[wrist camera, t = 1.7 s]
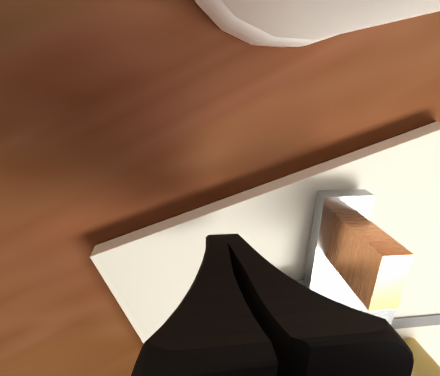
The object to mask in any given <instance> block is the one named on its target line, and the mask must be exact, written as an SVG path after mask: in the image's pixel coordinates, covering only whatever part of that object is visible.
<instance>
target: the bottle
mask: <svg viewBox="0 0 440 376" xmlns="http://www.w3.org/2000/svg"><path fill="white" fill-rule="evenodd" d="M195 2H196V4H197V5H198V6H199V7H200V8H201V9H202V10H203V11H204V12H205V13H206V14H207V15H208V16H209V17H210V19H211V20H212V21H213V22H214V23H215V24H216V25H217V26H218V27H219V28H220V29H221V30H222V31H224V32H226V33H228V34H230V35H232V36H234V37H236V38H238V39H240V40H242V41H244V42H246V43H248V44H250V45H257V46H272V47H286V46H289V47H301V46H306V45H309V44H312V43H315V42H318V41H321V40H324V39H327V38H330V37H333V36H336V35H339V34H343V33H347V32H351V31H355V30H360V29H364V28H368V27H373V26H377V25H381V24H386V23H390V22H394V21H399V20H403V19H407V18H412V17H416V16H420V15H425V14H429V13H433V12H438V11H440V0H195Z"/></svg>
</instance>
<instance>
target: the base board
mask: <svg viewBox="0 0 440 376" xmlns="http://www.w3.org/2000/svg"><path fill="white" fill-rule="evenodd" d="M357 189H365V190H367V191H368V192H370V193H372V194H373V195H375V199H374V203H373V208H372V212H371V216H370V221H371V222H373V223H374V224H375V225H376V226H378V227H379V228H380V229H382V230H383V231H384V232H386V233H387V234H388V235H389V236H391V237H392V238H393V239H395V240H396V241H397V242H399V243H400V244H401V245H402V246H404V247H405V248H406V249H408V250H409V251H410V252H411V253H413V254H414V257H413V260H412V263H411V266H410V270H409V273H408V276H407V279H406V283H405V286H404V289H403V292H402V296H401V299H400V302H399V306H398V308H396V311H395V314H394V318H393V321H392V324H391V326H392V327H393V328H394V329H395V331H396V332H397V333H398V334H399V335H400V336H401V338H402V339H403V340H404V341H405V342H406V344H407V345H408V346H409V348H410V349H411V351H412V352H413V358H414V365H413V370H412V374H411V376H440V122H437V121H436V122H434V123H431V124H428V125H425V126H423V127H420V128H417V129H414V130H412V131H409V132H406V133H403V134H401V135H398V136H395V137H392V138H390V139H387V140H384V141H381V142H379V143H376V144H373V145H370V146H368V147H365V148H362V149H359V150H356V151H354V152H351V153H348V154H345V155H343V156H340V157H337V158H334V159H332V160H329V161H326V162H323V163H321V164H318V165H315V166H312V167H310V168H307V169H304V170H301V171H299V172H296V173H293V174H290V175H288V176H285V177H282V178H279V179H277V180H274V181H271V182H268V183H266V184H263V185H260V186H257V187H255V188H252V189H249V190H246V191H244V192H241V193H238V194H235V195H233V196H230V197H227V198H224V199H222V200H219V201H216V202H213V203H211V204H208V205H205V206H202V207H200V208H197V209H194V210H191V211H189V212H186V213H183V214H180V215H178V216H175V217H172V218H169V219H167V220H164V221H161V222H158V223H156V224H153V225H150V226H147V227H145V228H142V229H139V230H136V231H133V232H131V233H128V234H125V235H122V236H120V237H117V238H114V239H111V240H109V241H106V242H103V243H100V244H98V245H95V247H94V249H93V251H92V253H91V256H90V258H91V260H92V261H93V263H94V264H95V266H96V268H97V269H98V271H99V273H100V274H101V276H102V277H103V279H104V281H105V282H106V284H107V285H108V287H109V289H110V290H111V292H112V294H113V295H114V297H115V298H116V300H117V302H118V303H119V305H120V306H121V308H122V310H123V311H124V313H125V315H126V316H127V318H128V319H129V321H130V323H131V324H132V326H133V327H134V329H135V331H136V332H137V334H138V336H139V337H140V339H141V340H142V342H143V344H144V342H145V341H146V340H148V339H149V338H150V337H151V336H152V335H153V334H154V333H155V332H156V331H157V330H158V329H159V328H160V327H161V326H162V325H163V324H164V323H165V322H166V320H167V319H168V318H169V317H170V316H171V314H172V313H173V312H174V311H175V310H176V308H177V307H178V306H179V304H180V303H181V301H182V300H183V298H184V297H185V295H186V294H187V292H188V291H189V289H190V287H191V285H192V283H193V281H194V279H195V277H196V275H197V273H198V270H199V268H200V266H201V263H202V260H203V257H204V253H205V249H206V237H207V236H208V235H215V234H239V235H240V236H241V237H242V238H243V239H244V240H245V241H246V242H247V243H248V244H249V245H250V246H251V247H252V248H254V249H255V250H256V251H257V252H258V253H259V254H260V255H261V256H263V257H264V258H265V259H266V260H267V261H269V262H270V263H271V264H272V265H274V266H275V267H276V268H278V269H279V270H280V271H282V272H283V273H285V274H286V275H288V276H289V277H291V278H292V279H294V280H300V279H303V278H304V271H305V265H306V258H307V252H308V245H309V239H310V232H311V226H312V219H313V213H314V207H315V200H316V194H317V191H319V190H357Z"/></svg>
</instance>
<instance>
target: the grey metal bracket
mask: <svg viewBox="0 0 440 376" xmlns="http://www.w3.org/2000/svg"><path fill="white" fill-rule="evenodd" d="M374 199H375V195H373V194H372V193H370V192H368V191H367V190H365V189H357V190H319V191H317V194H316V200H315V207H314V213H313V219H312V226H311V232H310V239H309V245H308V252H307V258H306V265H305V271H304V278H303V279H300V280H295V281H297V282H299V283H300V284H302V285H304V286H306V287H307V288H309V289H311V290H313V291H315V292H317V293H319V294H321V295H323V296H325V297H327V298H330V299H332V300H334V301H336V302H339V303H341V304H344V305H346V306H349V307H351V308H354V309H357V310H360V311H363V312H366V313H369V314H372V315H375V316H378V317H381V318H384V319H386V320H387V321H388V322H389V324H390V325H391V324H392V321H393V318H394V314H395V311H396V308H398V306H399V302H400V299H401V296H402V292H403V289H404V286H405V283H406V279H407V276H408V273H409V270H410V266H411V263H412V260H413V257H414V254H413V253H411V252H410V251H409V250H408V249H406V248H405V247H404V246H402V245H401V244H400V243H399V242H397V241H396V240H395V239H393V238H392V237H391V236H389V235H388V234H387V233H386V232H384V231H383V230H382V229H380V228H379V227H378V226H376V225H375V224H374V223H373V222H371V221H370V216H371V212H372V208H373V203H374Z"/></svg>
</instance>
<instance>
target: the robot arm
mask: <svg viewBox="0 0 440 376" xmlns="http://www.w3.org/2000/svg"><path fill="white" fill-rule="evenodd" d="M413 365H414V358H413V352H412V351H411V349H410V348H409V346H408V345H407V344H406V342H405V341H404V340H403V339H402V338H401V336H400V335H399V334H398V333H397V332H396V331H395V329H394V328H393V327H392V326H391V325H390V324H389V322H388V321H387V320H386V319H384V318H381V317H378V316H375V315H372V314H369V313H366V312H363V311H360V310H357V309H354V308H351V307H349V306H346V305H344V304H341V303H339V302H336V301H334V300H332V299H330V298H327V297H325V296H323V295H321V294H319V293H317V292H315V291H313V290H311V289H309V288H307V287H306V286H304V285H302V284H300V283H299V282H297V281H295V280H294V279H292V278H291V277H289V276H288V275H286V274H285V273H283V272H282V271H280V270H279V269H278V268H276V267H275V266H274V265H272V264H271V263H270V262H269V261H267V260H266V259H265V258H264V257H263V256H261V255H260V254H259V253H258V252H257V251H256V250H255V249H254V248H252V247H251V246H250V245H249V244H248V243H247V242H246V241H245V240H244V239H243V238H242V237H241V236H240V235H239V234H215V235H208V236H207V237H206V249H205V253H204V257H203V260H202V263H201V266H200V268H199V270H198V273H197V275H196V277H195V279H194V281H193V283H192V285H191V287H190V289H189V291H188V292H187V294H186V295H185V297H184V298H183V300H182V301H181V303H180V304H179V306H178V307H177V308H176V310H175V311H174V312H173V313H172V314H171V316H170V317H169V318H168V319H167V320H166V322H165V323H164V324H163V325H162V326H161V327H160V328H159V329H158V330H157V331H156V332H155V333H154V334H153V335H152V336H151V337H150V338H149V339H148V340H146V341H145V342H144V344H143V347H142V349H141V351H140V354H139V356H138V358H137V361H136V363H135V366H134V369H133V372H132V375H131V376H411V374H412V370H413Z"/></svg>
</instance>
